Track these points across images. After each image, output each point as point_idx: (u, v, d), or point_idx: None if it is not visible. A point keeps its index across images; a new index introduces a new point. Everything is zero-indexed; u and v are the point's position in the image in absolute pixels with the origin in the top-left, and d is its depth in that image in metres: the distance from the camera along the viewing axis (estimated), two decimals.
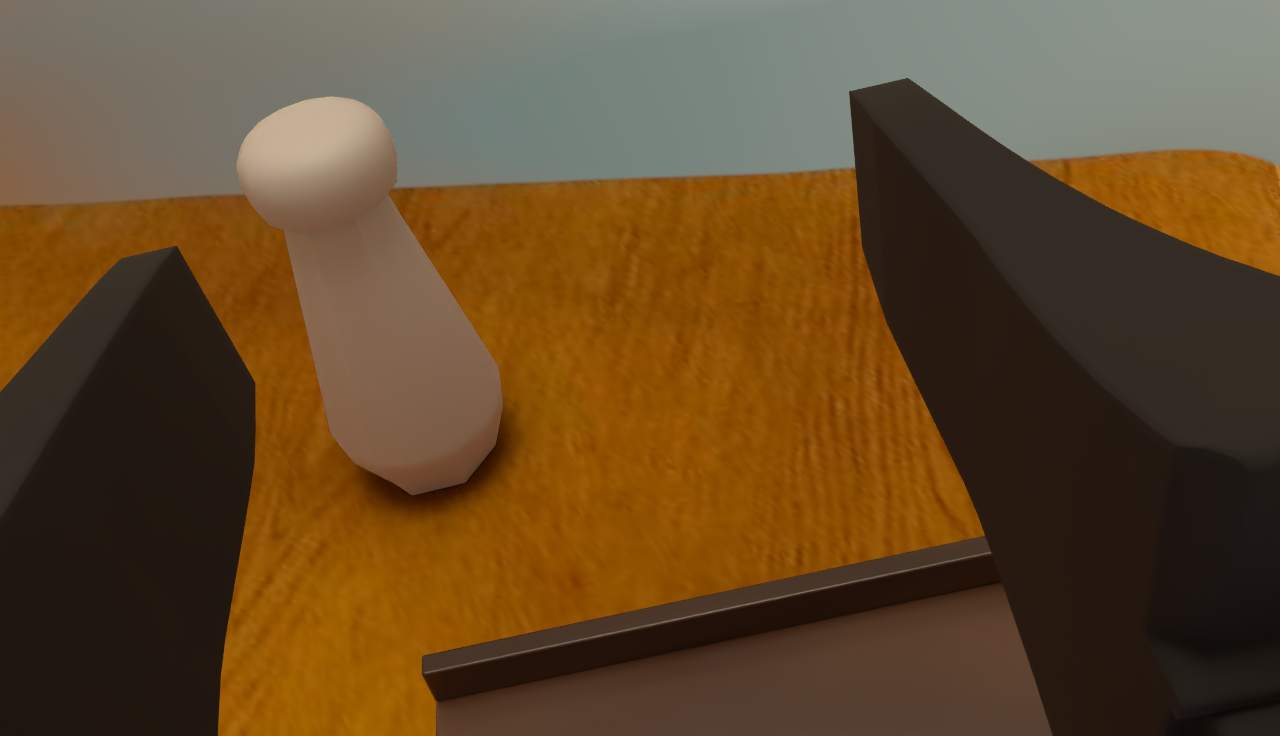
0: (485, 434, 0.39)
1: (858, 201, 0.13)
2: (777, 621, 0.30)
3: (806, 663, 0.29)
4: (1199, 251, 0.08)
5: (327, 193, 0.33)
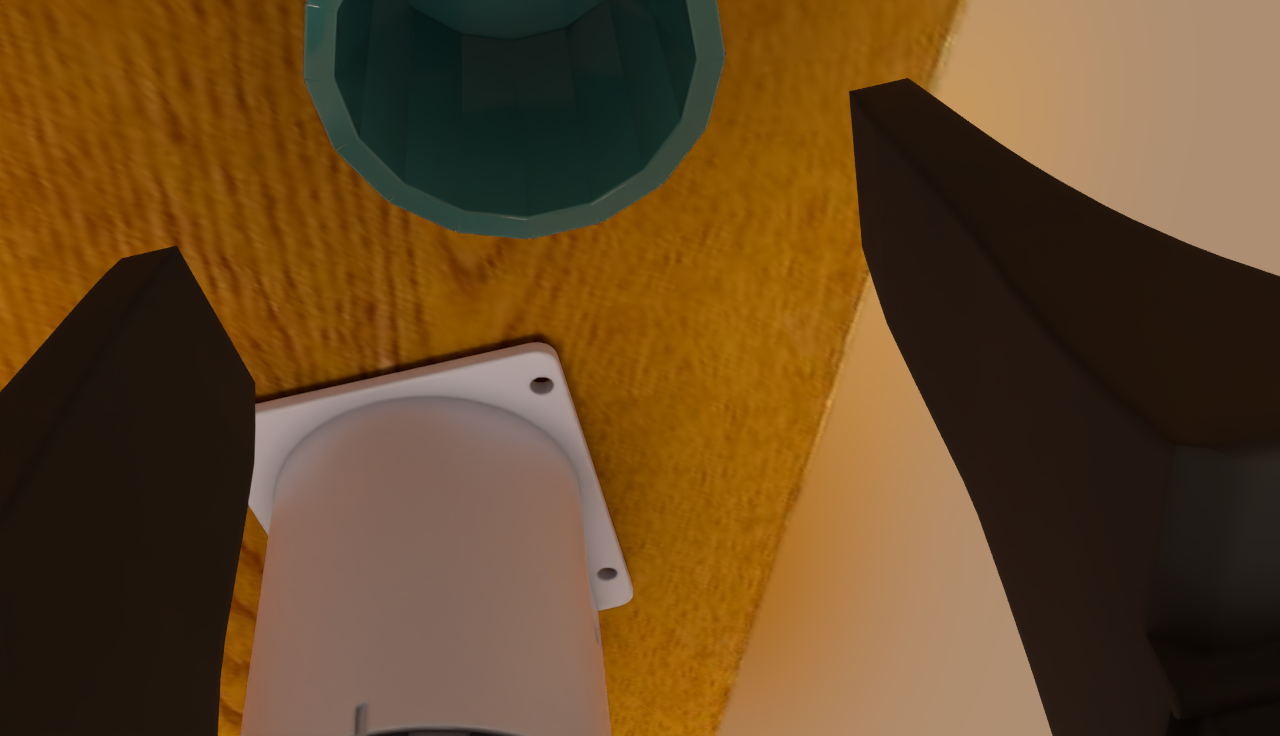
0: None
1: (858, 201, 0.13)
2: None
3: None
4: (1198, 251, 0.08)
5: None
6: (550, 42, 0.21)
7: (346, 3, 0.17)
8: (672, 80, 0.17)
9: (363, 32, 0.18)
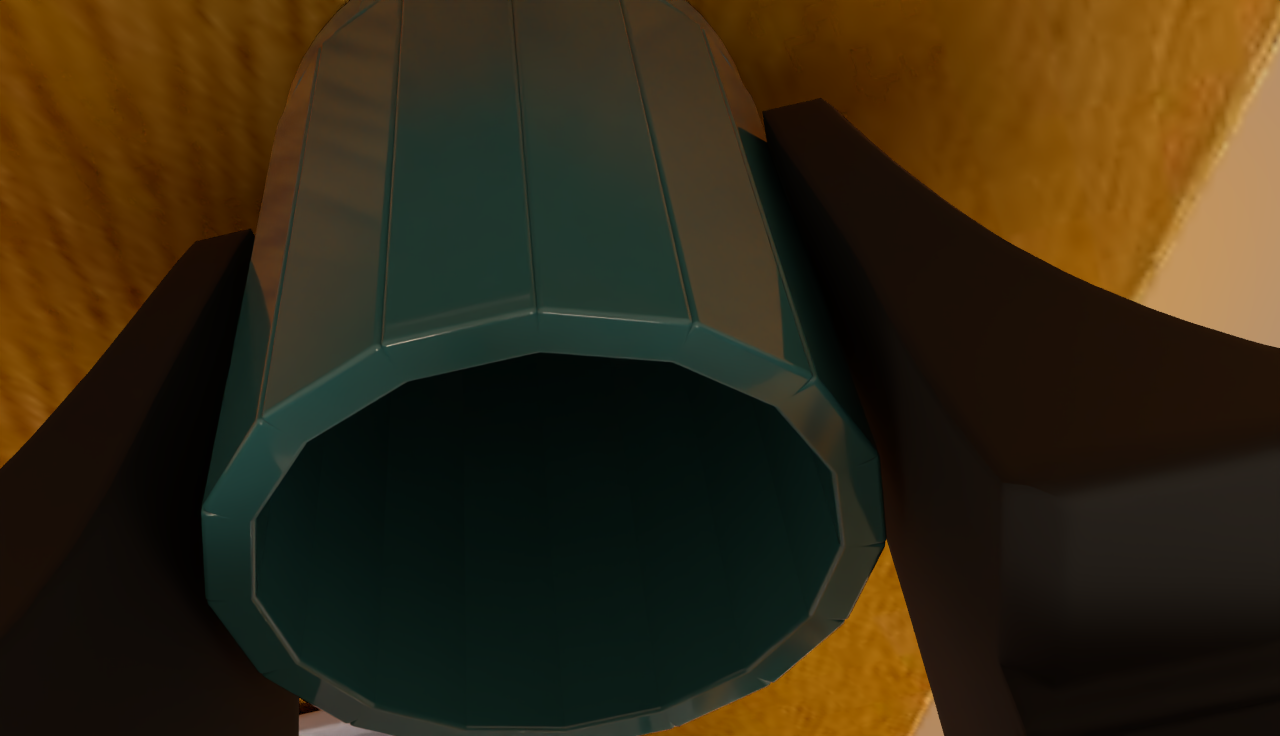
0: None
1: None
2: None
3: None
4: (1072, 279, 0.08)
5: None
6: (587, 360, 0.15)
7: None
8: (786, 522, 0.11)
9: None
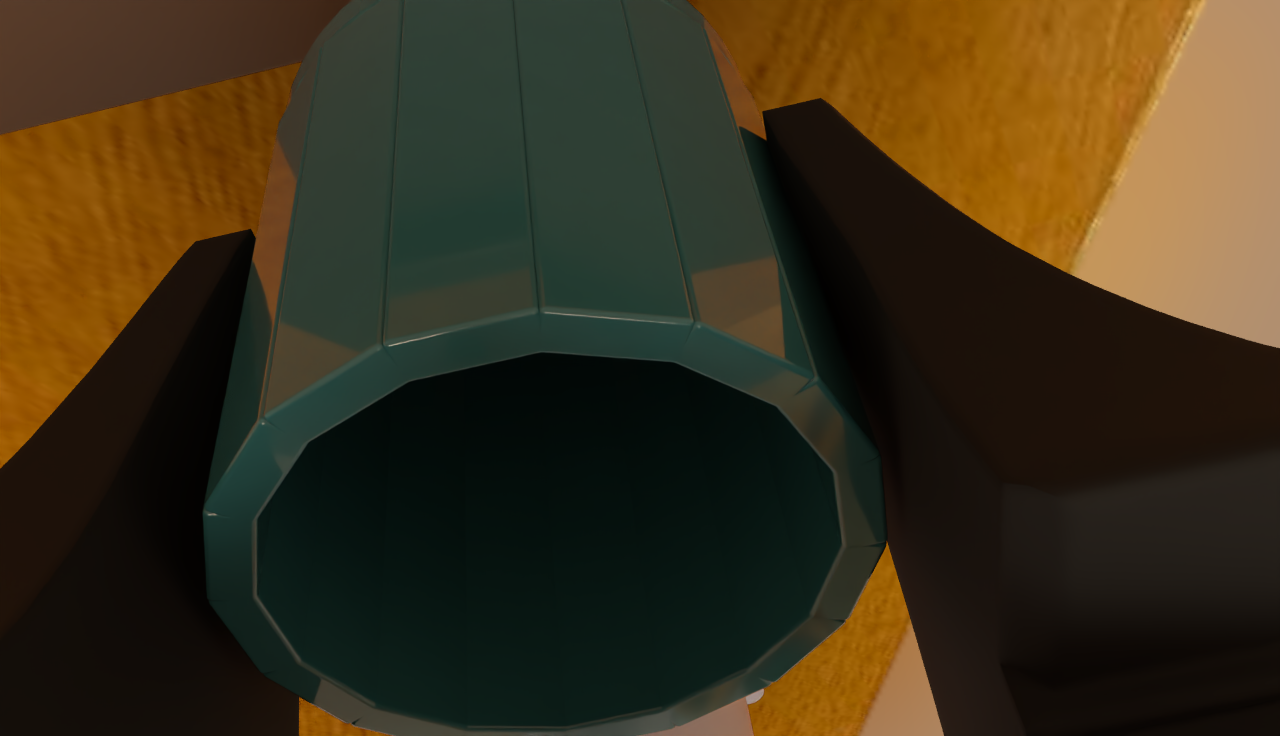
0: None
1: None
2: None
3: None
4: (1071, 279, 0.08)
5: None
6: (588, 360, 0.15)
7: None
8: (787, 522, 0.11)
9: None
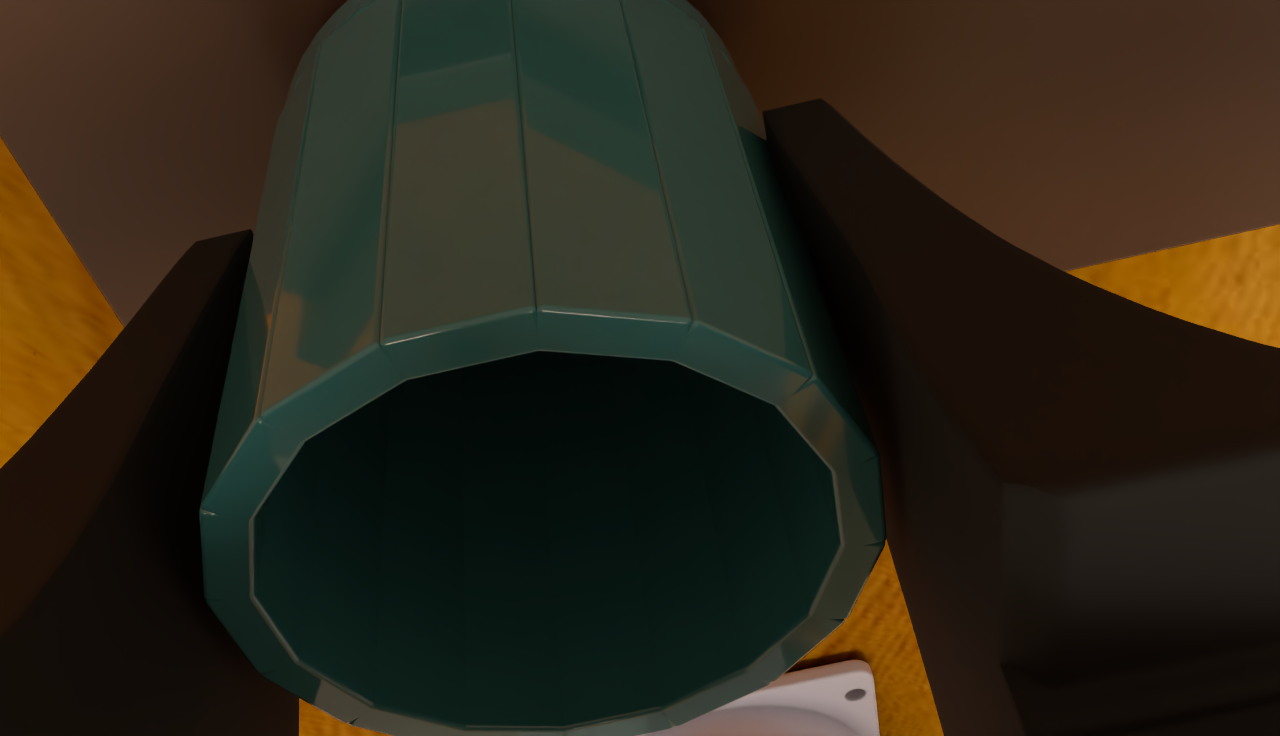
0: None
1: None
2: None
3: None
4: (1072, 279, 0.08)
5: None
6: (587, 359, 0.15)
7: None
8: (786, 521, 0.11)
9: None
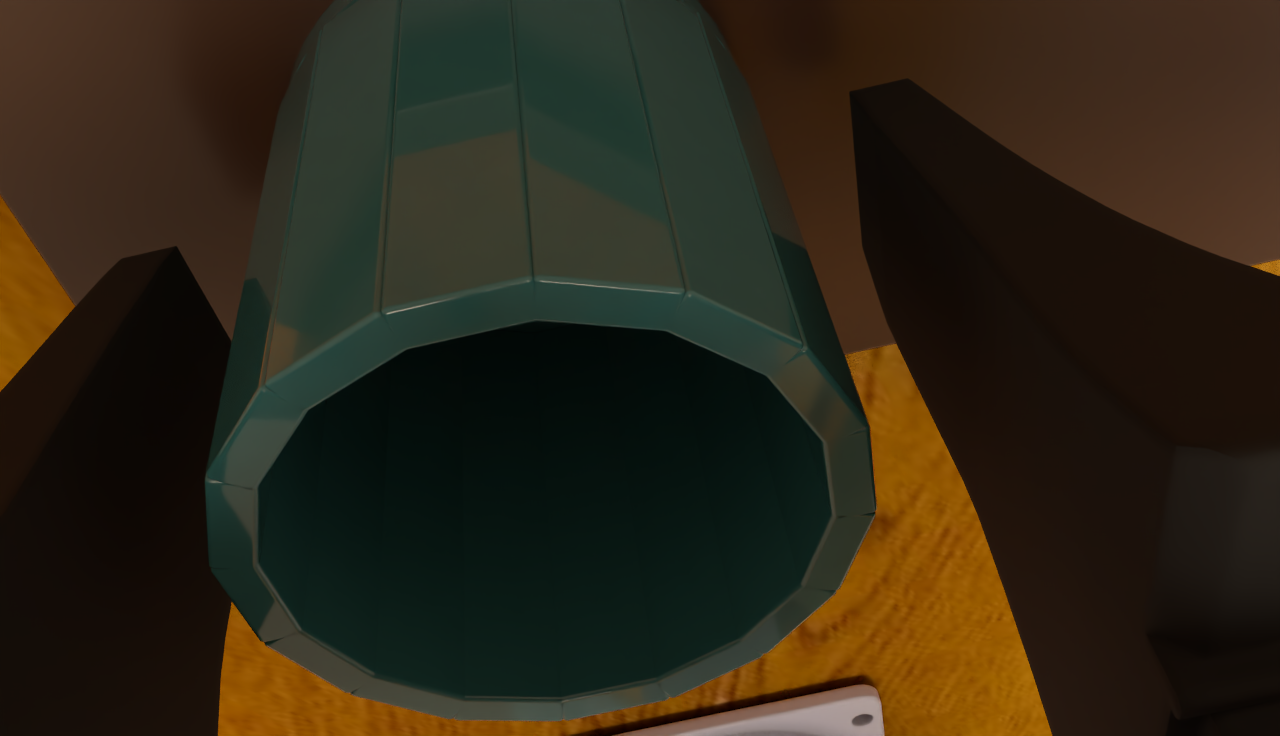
0: None
1: (858, 201, 0.13)
2: None
3: None
4: (1198, 251, 0.08)
5: None
6: (584, 342, 0.15)
7: None
8: (780, 495, 0.12)
9: None
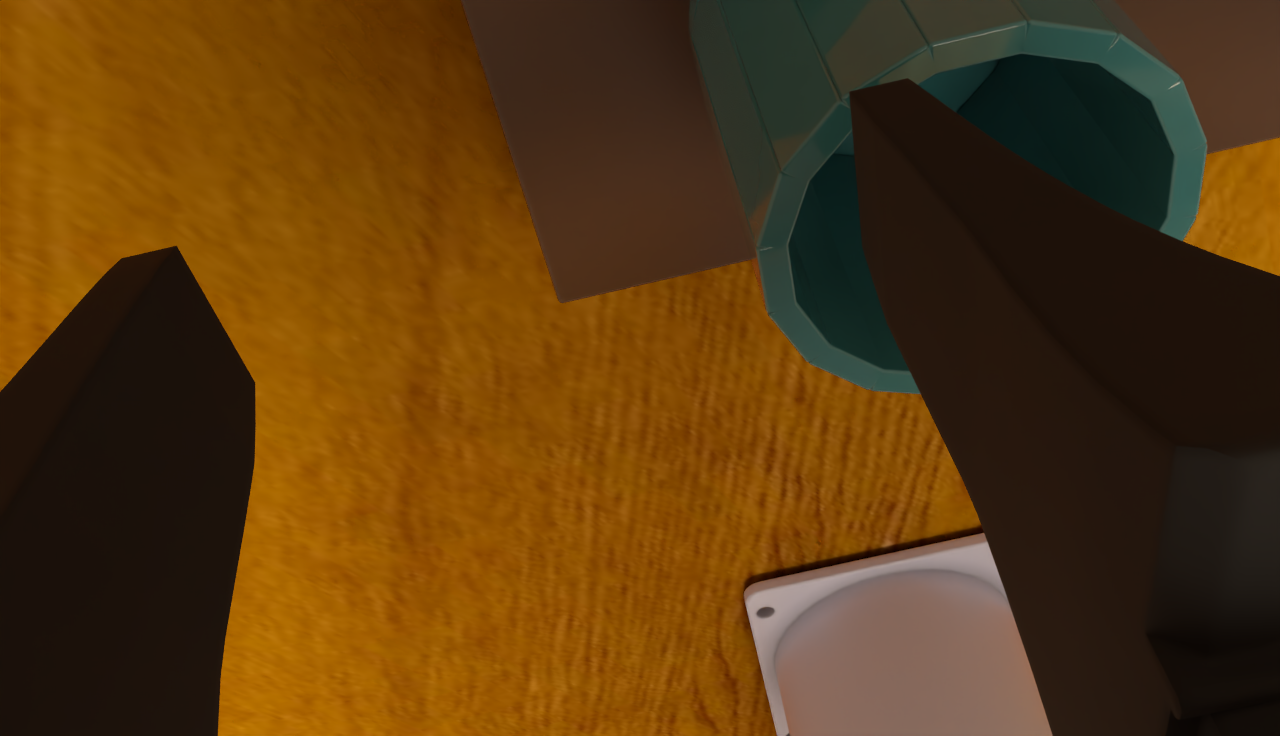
0: None
1: (858, 201, 0.13)
2: None
3: None
4: (1199, 251, 0.08)
5: None
6: None
7: None
8: None
9: None
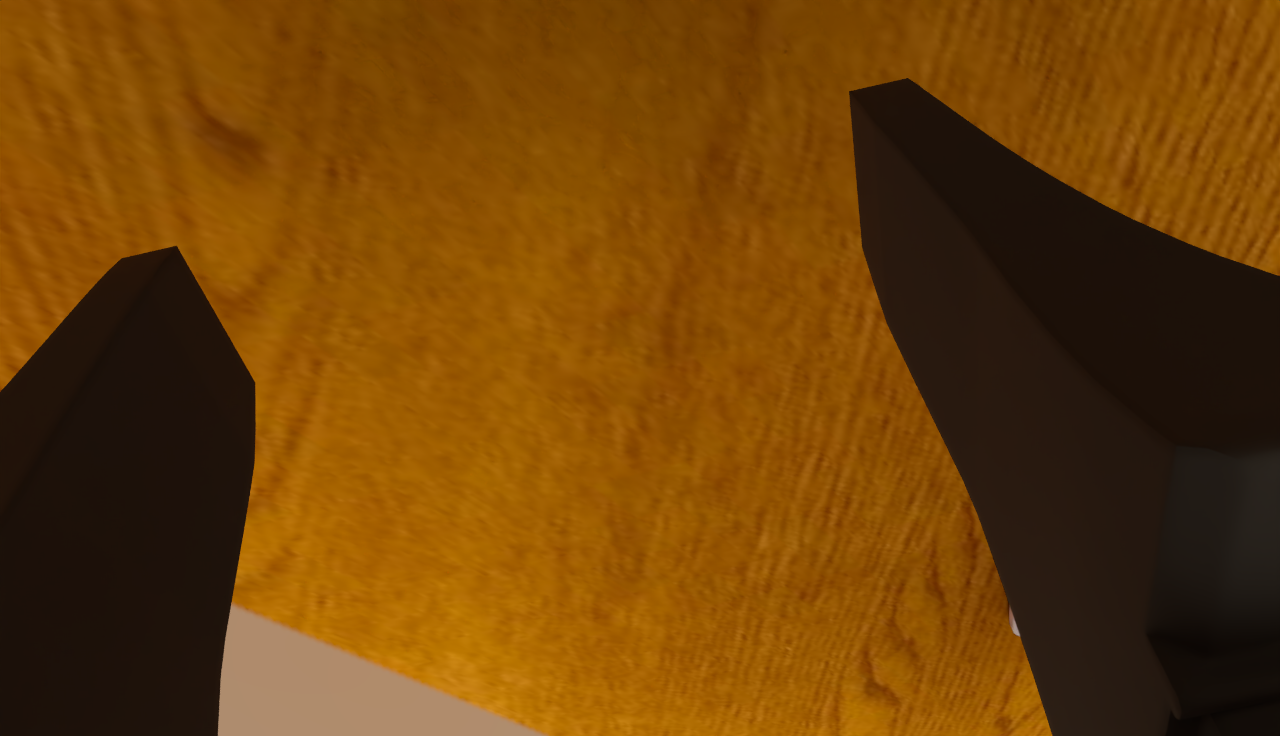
0: None
1: (858, 201, 0.13)
2: None
3: None
4: (1199, 251, 0.08)
5: None
6: None
7: None
8: None
9: None
